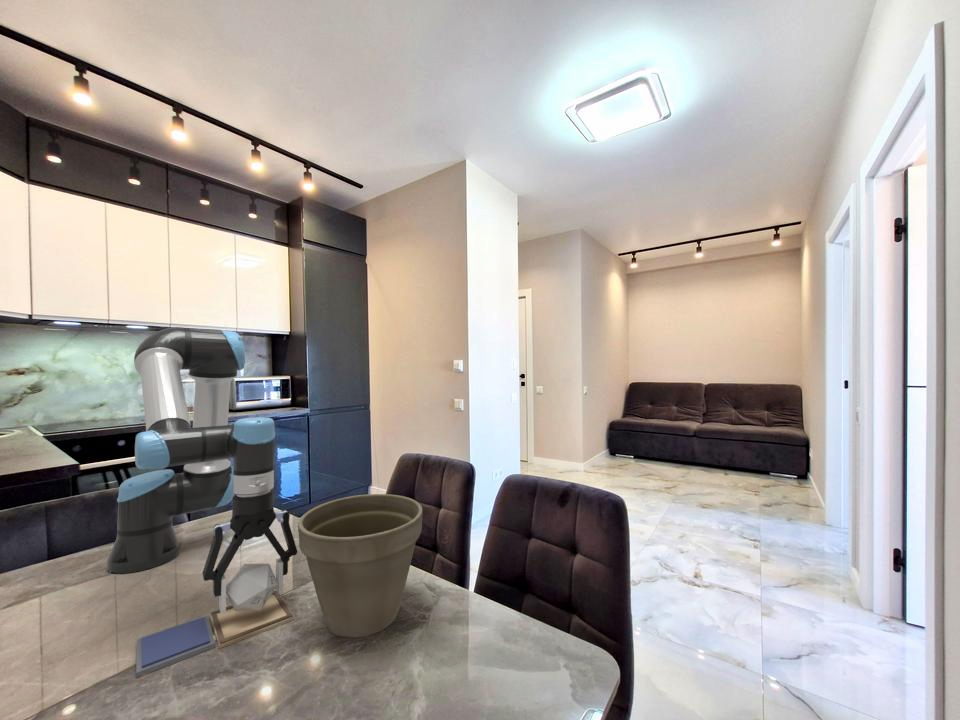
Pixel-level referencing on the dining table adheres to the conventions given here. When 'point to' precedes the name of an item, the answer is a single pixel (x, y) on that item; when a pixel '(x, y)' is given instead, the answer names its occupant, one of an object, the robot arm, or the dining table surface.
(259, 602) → the die
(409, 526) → the plant pot
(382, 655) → the dining table surface
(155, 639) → the ink pad
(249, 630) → the board
